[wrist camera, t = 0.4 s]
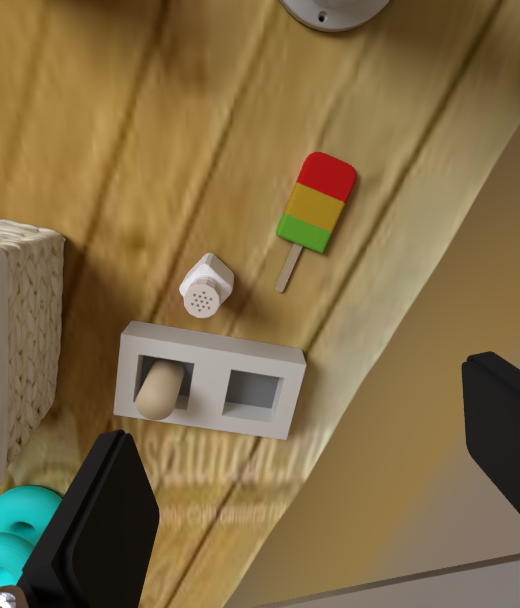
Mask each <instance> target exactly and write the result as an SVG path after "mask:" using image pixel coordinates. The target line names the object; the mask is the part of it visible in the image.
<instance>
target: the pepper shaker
mask: <svg viewBox="0 0 520 608" xmlns="http://www.w3.org/2000/svg"><path fill="white" fill-rule="evenodd" d="M233 282H234V274H233V272H232V271H231V270H230V269H229V268H228V267H227V266H226V265H225V264H223V263H222V262H221V261H220V260H219V259H218V258H217V257H216V256H215V255H214V254H212V253H208V254H206V255H205V256H204V257H203V258H202V259H201V260H200V261H199V262H198V263H197V264H196V265H195V266H194V267H193V268H192V269H191V270H190V271H189V272H188V274H187V275H186V277H185V279H184V280H183V282H182V284H181V286H180V288H179V290H180V293H181V295H182V296H183V297H184V306H185V308H186V309H187V311H188V312H189V314H191V315H193V316H195V317H197V318H208V317H210V316H212V315H213V314H215V313H216V311H217V310H218V308H219V306H220V305H221V304H222V303H223V302H224V301H225V300H226V299H227V297H228V296H229V295H230V294H231V292H232V290H233Z"/></svg>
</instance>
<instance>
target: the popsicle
mask: <svg viewBox="0 0 520 608" xmlns="http://www.w3.org/2000/svg"><path fill="white" fill-rule="evenodd" d="M304 177H305V178H304ZM355 180H356V171H355V169H354V168H353V167H352V166H351V165H349V164H348V163H345V162H343V161H341V160H339V159H336V158H334V157H332V156H330V155H327V154H325V153H322V152H314V153H312V154H310V155H309V156H308V157H307V158H306V160H305V162H304V164H303V166H302V169H301V171H300V174H299V176H298V179H297V181H296V184H295V186H294V188H293V191H292V193H291V196H290V198H289V201H288V203H287V206H286V208H285V211H284V213H283V215H282V218H281V220H280V223H279V225H278V228H277V230H276V234H277V236H279V237H281V238H284V239H286V240H289V241H291V242H294V244H293V246H292V249H291V251H290V253H289V256H288V258H287V260H286V263H285V265H284V267H283V270H282V272H281V274H280V277H279V279H278V281H277V284H276V286H275V289H276V291H278V292H282V291H283V290H284V288H285V286H286V283H287V281H288V279H289V276H290V274H291V272H292V270H293V267H294V265H295V263H296V260H297V258H298V256H299V253H300V251H301V249H302V247H303V246H304V247H306V248H309V249H311V250H314V251H317V252H319V253H322V254H323V252H324V249H325V247H326V245H327V243H328V241H329V238H330V236H331V234H332V232H333V230H334V227H335V225H336V223H337V221H338V219H339V216H340V214H341V212H342V210H343V208H344V205H345V203H346V201H347V199H348V197H349V194H350V192H351V190H352V188H353V186H354V183H355Z"/></svg>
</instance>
